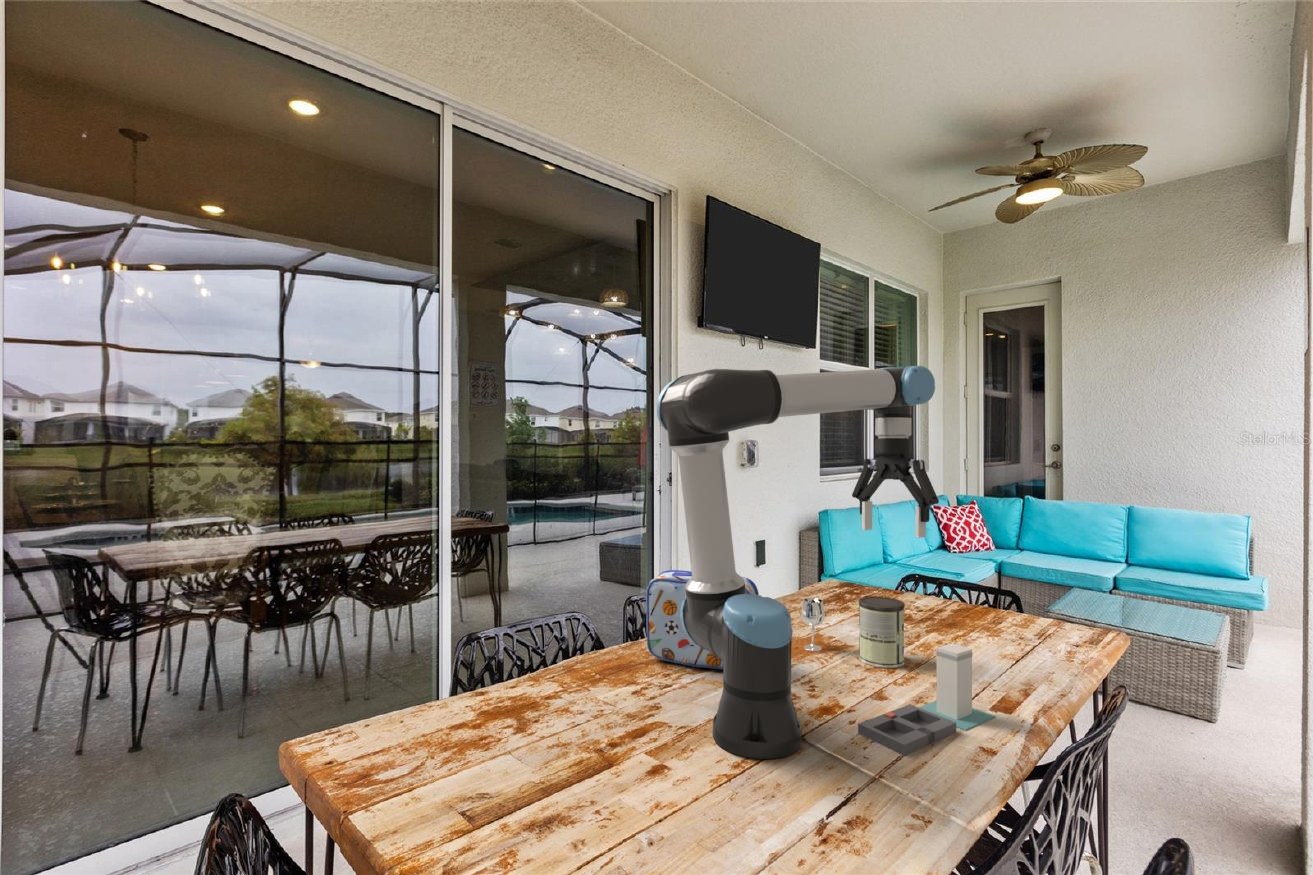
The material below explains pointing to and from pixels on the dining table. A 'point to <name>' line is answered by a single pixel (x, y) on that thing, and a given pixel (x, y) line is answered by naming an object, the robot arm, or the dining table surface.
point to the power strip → (907, 729)
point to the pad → (964, 722)
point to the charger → (954, 680)
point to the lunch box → (676, 621)
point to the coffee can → (881, 632)
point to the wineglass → (812, 618)
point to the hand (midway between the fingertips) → (892, 533)
